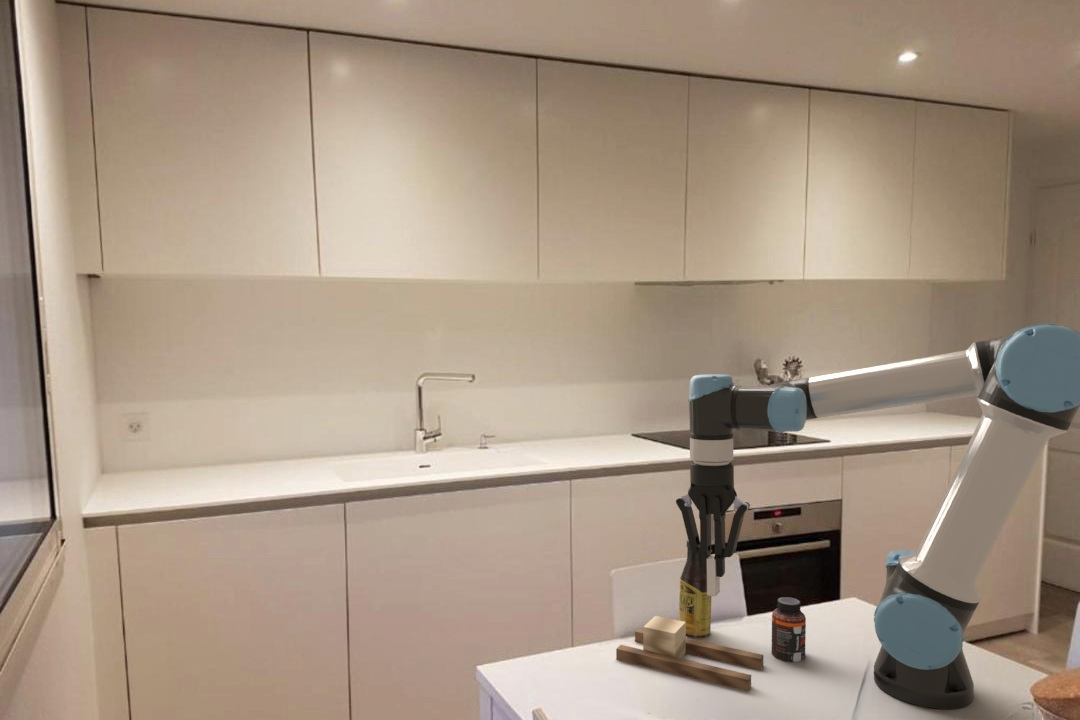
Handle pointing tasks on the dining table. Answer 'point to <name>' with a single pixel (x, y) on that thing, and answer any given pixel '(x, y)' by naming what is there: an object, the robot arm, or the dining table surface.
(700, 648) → the walnut chute
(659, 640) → the block
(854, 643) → the dining table surface
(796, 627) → the supplement bottle
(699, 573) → the sauce bottle
